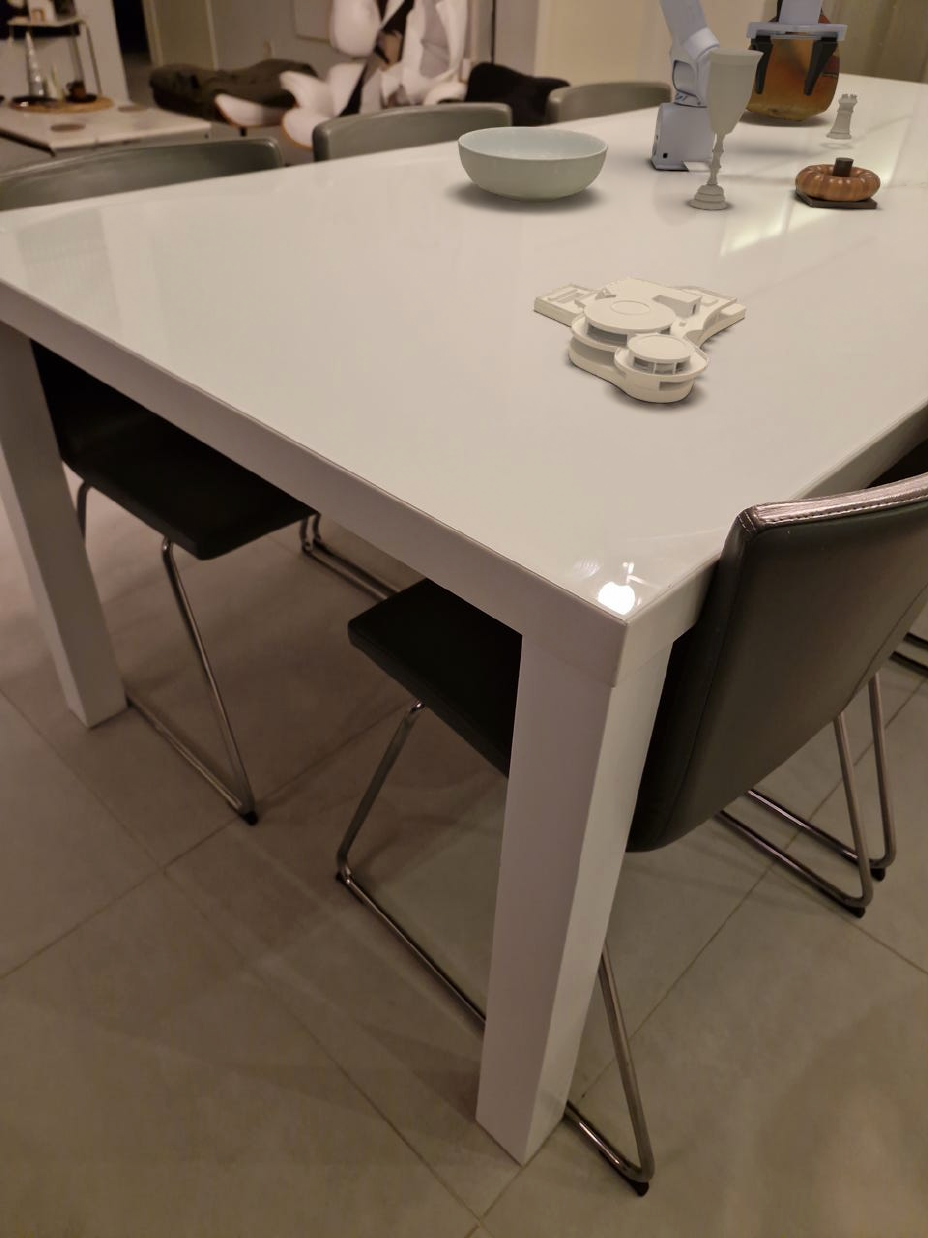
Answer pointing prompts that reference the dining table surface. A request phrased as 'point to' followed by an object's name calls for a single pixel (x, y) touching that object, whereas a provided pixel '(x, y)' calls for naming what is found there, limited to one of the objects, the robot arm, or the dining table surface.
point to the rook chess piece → (843, 118)
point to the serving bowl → (532, 161)
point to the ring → (837, 183)
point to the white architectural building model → (641, 332)
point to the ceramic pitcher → (794, 78)
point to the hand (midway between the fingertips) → (782, 93)
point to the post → (840, 170)
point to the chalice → (725, 110)
